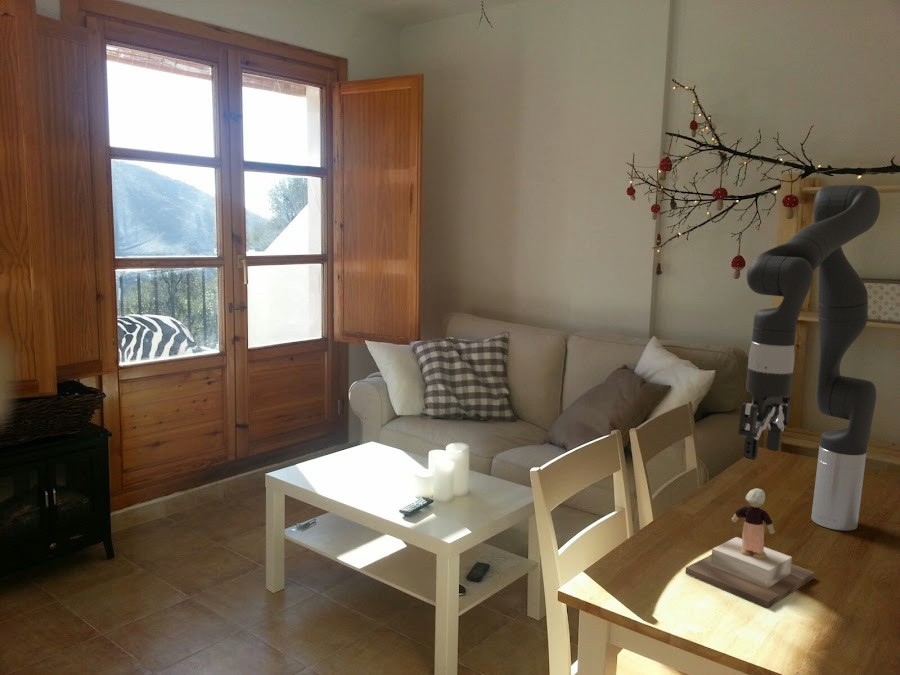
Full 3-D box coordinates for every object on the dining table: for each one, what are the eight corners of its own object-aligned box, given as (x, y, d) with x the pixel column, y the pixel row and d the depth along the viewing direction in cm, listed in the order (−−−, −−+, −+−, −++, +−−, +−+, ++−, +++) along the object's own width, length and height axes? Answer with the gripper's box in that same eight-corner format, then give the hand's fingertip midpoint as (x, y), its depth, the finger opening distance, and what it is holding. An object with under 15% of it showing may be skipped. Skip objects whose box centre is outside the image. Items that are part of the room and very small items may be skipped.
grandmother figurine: (773, 554, 138) (780, 489, 136) (771, 562, 135) (778, 496, 133) (730, 544, 142) (736, 481, 140) (726, 552, 138) (733, 487, 136)
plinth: (734, 548, 151) (736, 526, 150) (813, 578, 139) (816, 555, 138) (685, 573, 139) (687, 550, 139) (767, 608, 127) (770, 583, 127)
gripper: (771, 375, 126) (762, 467, 128) (809, 366, 135) (799, 452, 137) (730, 368, 131) (722, 456, 134) (769, 360, 140) (760, 442, 143)
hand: (761, 454), depth 136 cm, fingers open, 8 cm apart
